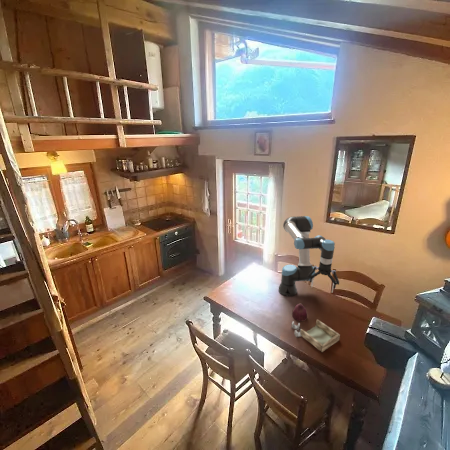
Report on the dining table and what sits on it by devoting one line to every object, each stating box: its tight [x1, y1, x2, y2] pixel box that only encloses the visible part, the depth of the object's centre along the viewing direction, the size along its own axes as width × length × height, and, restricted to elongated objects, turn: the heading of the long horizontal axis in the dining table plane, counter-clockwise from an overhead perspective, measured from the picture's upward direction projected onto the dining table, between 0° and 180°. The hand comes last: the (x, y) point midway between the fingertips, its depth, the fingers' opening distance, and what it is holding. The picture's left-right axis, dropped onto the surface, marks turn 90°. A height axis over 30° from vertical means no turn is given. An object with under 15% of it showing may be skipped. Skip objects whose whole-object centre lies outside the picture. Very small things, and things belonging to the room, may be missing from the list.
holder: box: [299, 318, 341, 353], centre depth 163 cm, size 17×17×4 cm
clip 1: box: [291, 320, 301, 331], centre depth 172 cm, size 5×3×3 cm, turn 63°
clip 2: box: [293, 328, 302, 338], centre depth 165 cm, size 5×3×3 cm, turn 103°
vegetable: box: [291, 303, 308, 322], centre depth 179 cm, size 10×10×15 cm
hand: (321, 288), depth 174 cm, fingers open, 13 cm apart
